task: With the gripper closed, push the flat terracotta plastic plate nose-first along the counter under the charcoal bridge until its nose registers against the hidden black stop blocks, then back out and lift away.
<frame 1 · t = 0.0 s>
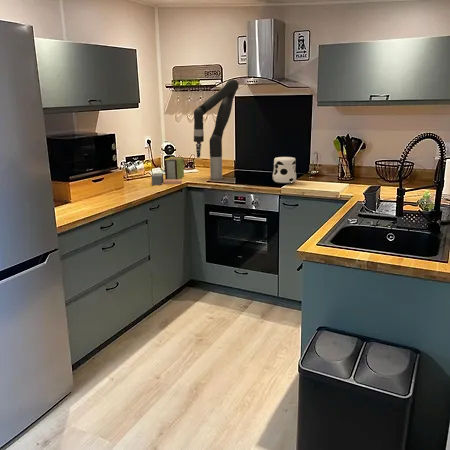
hand: (198, 156, 346), 17 cm above the countertop, tool pointing down, fingers open, 8 cm apart
shell plate: (172, 183, 338), on the countertop
protein box: (174, 178, 357), on the countertop
overhang dock: (157, 183, 338), on the countertop
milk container: (284, 183, 332), on the countertop
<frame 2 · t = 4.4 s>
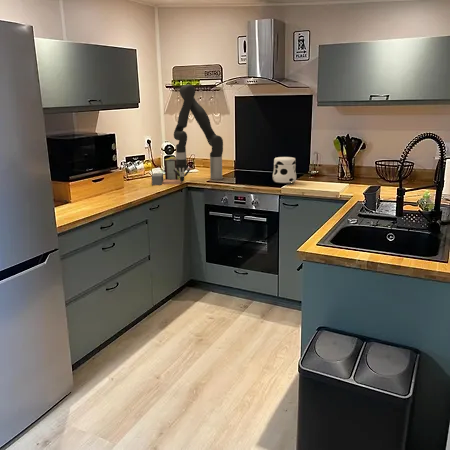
hand: (182, 181, 337), 1 cm above the countertop, tool pointing down, fingers closed
shell plate: (172, 184, 338), on the countertop, touching gripper
everything else where it was.
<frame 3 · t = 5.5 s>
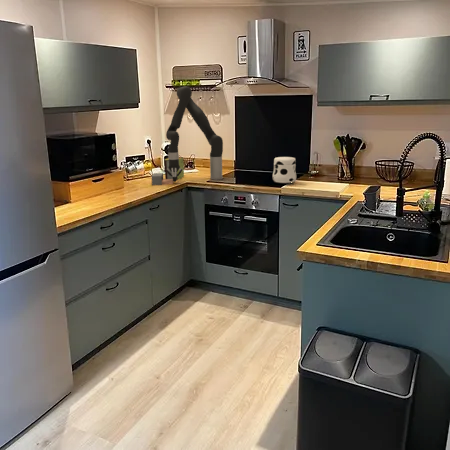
hand: (174, 181, 337), 1 cm above the countertop, tool pointing down, fingers closed
shell plate: (164, 183, 338), on the countertop, touching gripper
everything else where it was.
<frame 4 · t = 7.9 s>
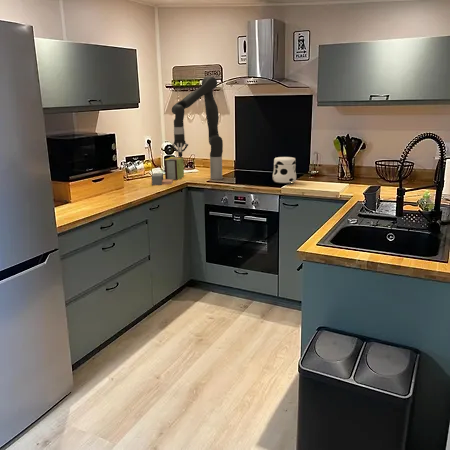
hand: (180, 157, 333), 19 cm above the countertop, tool pointing down, fingers closed
shell plate: (163, 183, 338), on the countertop
everything else where it was.
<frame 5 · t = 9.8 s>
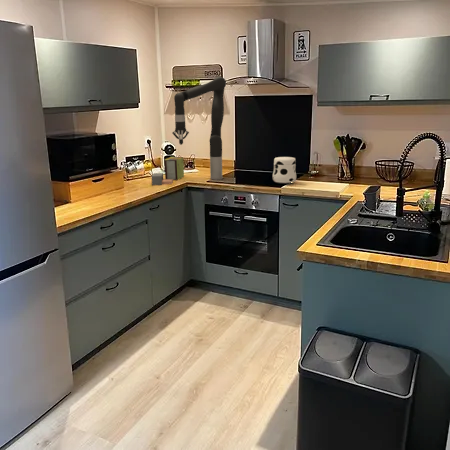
hand: (181, 144, 341), 27 cm above the countertop, tool pointing down, fingers closed
nothing on the countertop moved.
at the end: shell plate 0.5 cm from the target spot on the countertop beside the overhang dock, on the countertop; shell plate tilted 0° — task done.
